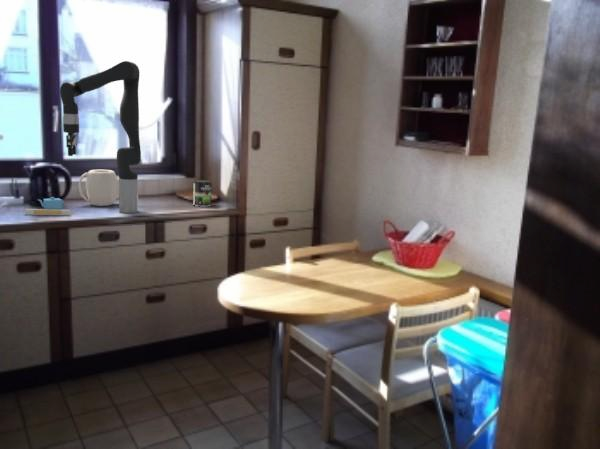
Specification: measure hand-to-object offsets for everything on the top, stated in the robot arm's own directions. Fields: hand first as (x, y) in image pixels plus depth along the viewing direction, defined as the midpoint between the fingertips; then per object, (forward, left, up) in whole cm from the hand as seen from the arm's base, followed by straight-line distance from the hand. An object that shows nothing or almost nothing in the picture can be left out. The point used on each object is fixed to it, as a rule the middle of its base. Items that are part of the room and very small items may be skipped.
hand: (72, 155), depth 289 cm
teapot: (+7, +20, -27) cm, 34 cm away
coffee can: (-66, -17, -28) cm, 74 cm away
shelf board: (+7, +20, -28) cm, 35 cm away
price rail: (+7, +25, -26) cm, 37 cm away
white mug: (-13, -13, -28) cm, 33 cm away
